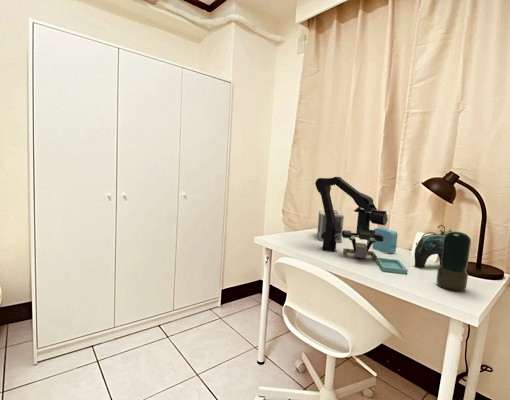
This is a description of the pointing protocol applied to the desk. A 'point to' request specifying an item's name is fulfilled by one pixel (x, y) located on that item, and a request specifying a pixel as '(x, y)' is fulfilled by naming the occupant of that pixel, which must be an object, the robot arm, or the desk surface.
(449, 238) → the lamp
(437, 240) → the travel neck pillow
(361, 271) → the desk surface
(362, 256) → the grey brown block
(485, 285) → the desk surface
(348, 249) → the grey brown u-shaped piece
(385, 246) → the data package
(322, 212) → the alarm clock
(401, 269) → the tray
